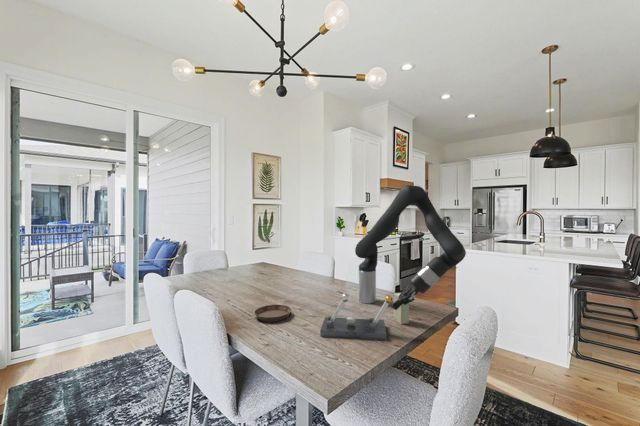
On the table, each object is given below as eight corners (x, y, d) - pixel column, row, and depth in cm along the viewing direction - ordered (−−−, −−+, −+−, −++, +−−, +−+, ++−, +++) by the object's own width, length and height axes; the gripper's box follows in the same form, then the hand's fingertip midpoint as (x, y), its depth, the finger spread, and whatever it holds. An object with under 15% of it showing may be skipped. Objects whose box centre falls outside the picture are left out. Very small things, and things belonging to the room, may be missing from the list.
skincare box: (393, 319, 136) (392, 293, 136) (401, 318, 137) (401, 292, 137) (401, 324, 130) (401, 297, 130) (409, 323, 132) (409, 296, 131)
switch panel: (325, 322, 133) (325, 312, 133) (384, 325, 129) (383, 315, 129) (320, 336, 119) (320, 325, 119) (386, 340, 115) (386, 328, 115)
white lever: (328, 318, 128) (344, 291, 126) (333, 322, 127) (349, 295, 126) (327, 322, 124) (343, 294, 122) (332, 325, 123) (349, 297, 122)
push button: (347, 321, 126) (346, 316, 126) (355, 321, 126) (355, 317, 126) (346, 324, 123) (346, 320, 123) (355, 324, 122) (355, 320, 122)
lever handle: (370, 320, 125) (387, 293, 123) (376, 324, 124) (392, 296, 123) (371, 324, 121) (388, 296, 120) (376, 327, 121) (393, 299, 119)
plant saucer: (252, 312, 147) (252, 306, 147) (286, 308, 153) (286, 302, 153) (256, 326, 131) (256, 319, 131) (295, 320, 137) (295, 314, 137)
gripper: (415, 269, 126) (385, 296, 128) (420, 276, 113) (388, 306, 115) (428, 281, 125) (398, 309, 128) (435, 290, 112) (402, 320, 114)
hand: (393, 307), depth 121 cm, fingers closed
